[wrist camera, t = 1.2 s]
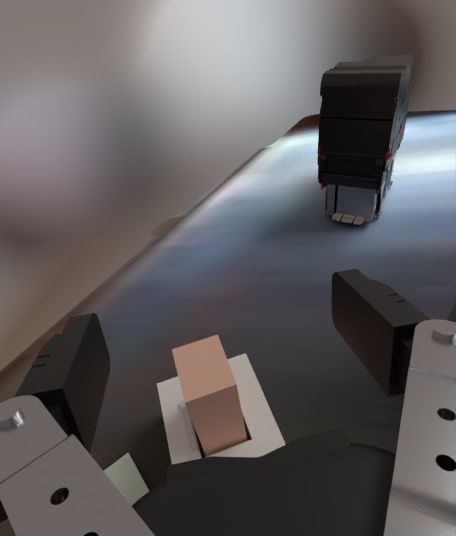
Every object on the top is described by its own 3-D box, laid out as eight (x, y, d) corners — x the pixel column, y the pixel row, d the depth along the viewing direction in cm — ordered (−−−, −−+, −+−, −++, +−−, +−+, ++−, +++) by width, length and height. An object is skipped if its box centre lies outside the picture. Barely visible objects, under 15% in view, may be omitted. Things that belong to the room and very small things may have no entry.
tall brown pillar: (200, 426, 39) (171, 349, 30) (234, 413, 40) (217, 334, 30) (212, 473, 35) (184, 402, 26) (250, 458, 36) (236, 384, 27)
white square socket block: (169, 411, 42) (155, 381, 38) (250, 382, 43) (245, 351, 39) (193, 528, 33) (179, 507, 29) (293, 487, 34) (293, 461, 30)
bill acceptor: (396, 175, 75) (426, 35, 58) (372, 238, 61) (403, 77, 44) (345, 169, 79) (359, 37, 63) (312, 227, 65) (319, 76, 49)
